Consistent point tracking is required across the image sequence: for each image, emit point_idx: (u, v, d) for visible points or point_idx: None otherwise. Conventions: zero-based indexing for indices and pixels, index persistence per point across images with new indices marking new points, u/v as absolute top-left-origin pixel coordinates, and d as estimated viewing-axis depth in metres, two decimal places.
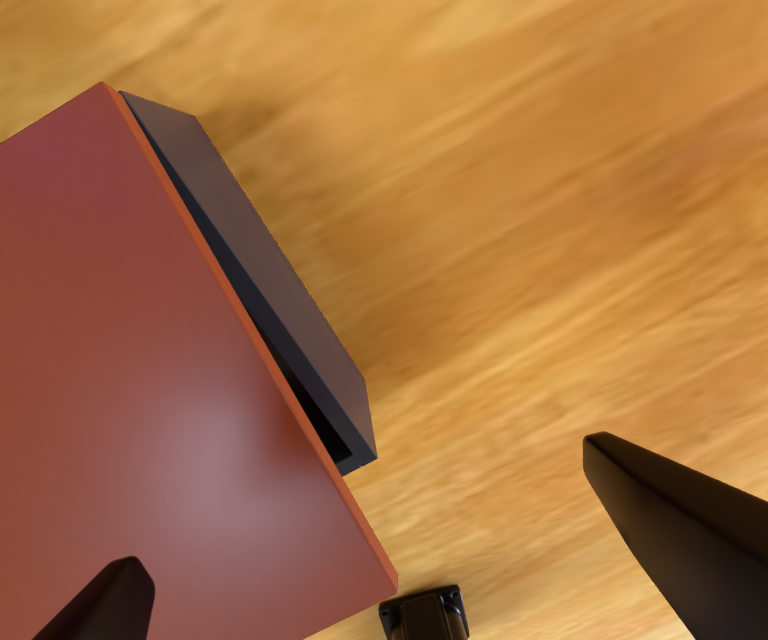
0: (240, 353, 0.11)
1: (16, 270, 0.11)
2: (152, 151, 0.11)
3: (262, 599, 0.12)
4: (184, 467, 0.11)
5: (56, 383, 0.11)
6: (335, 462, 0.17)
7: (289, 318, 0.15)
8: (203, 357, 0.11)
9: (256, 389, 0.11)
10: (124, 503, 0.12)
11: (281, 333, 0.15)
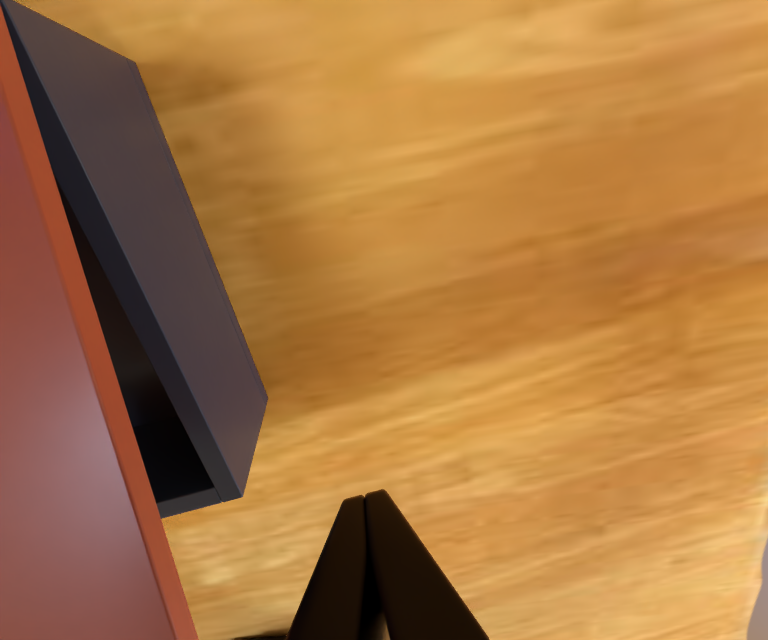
0: (62, 352, 0.09)
1: None
2: (20, 78, 0.09)
3: None
4: None
5: None
6: (192, 491, 0.15)
7: (174, 318, 0.13)
8: (12, 347, 0.09)
9: (72, 402, 0.09)
10: None
11: (154, 334, 0.12)
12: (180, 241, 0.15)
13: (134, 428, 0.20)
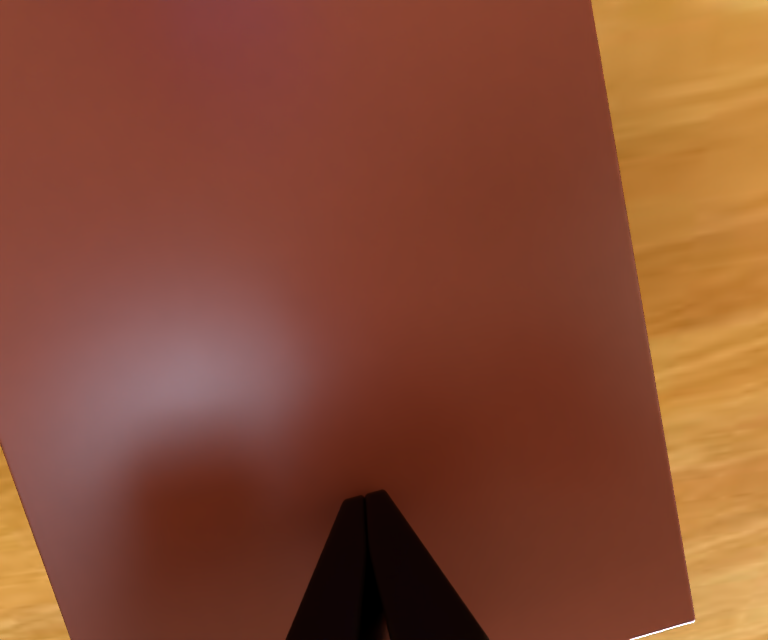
0: (610, 248, 0.08)
1: (334, 29, 0.07)
2: None
3: (521, 597, 0.08)
4: (479, 389, 0.08)
5: (335, 218, 0.07)
6: None
7: None
8: (559, 240, 0.08)
9: (613, 305, 0.08)
10: (375, 421, 0.08)
11: None
12: None
13: None
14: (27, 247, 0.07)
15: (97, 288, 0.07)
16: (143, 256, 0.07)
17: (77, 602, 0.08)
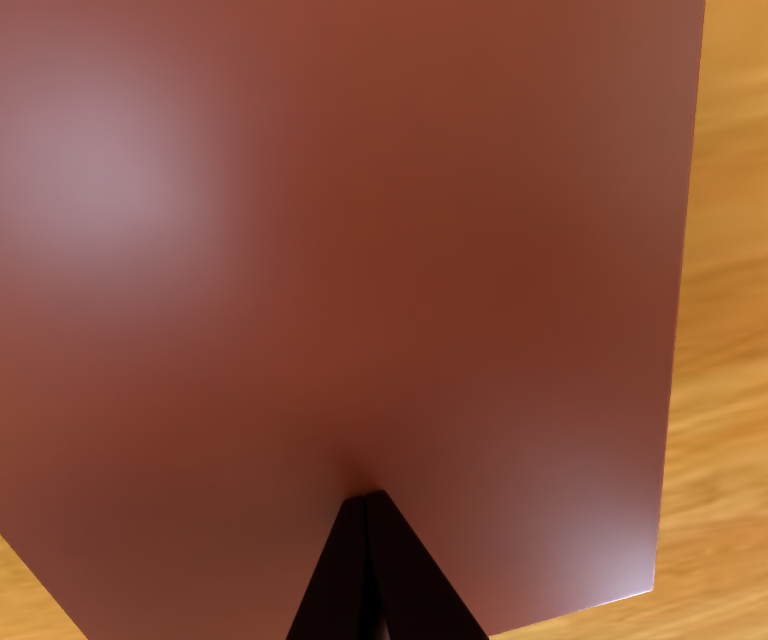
0: (656, 287, 0.07)
1: None
2: None
3: (510, 586, 0.09)
4: (494, 429, 0.08)
5: (345, 258, 0.06)
6: None
7: None
8: (603, 279, 0.07)
9: (645, 345, 0.07)
10: (386, 462, 0.07)
11: None
12: None
13: None
14: None
15: (51, 344, 0.06)
16: (104, 306, 0.06)
17: (94, 620, 0.08)
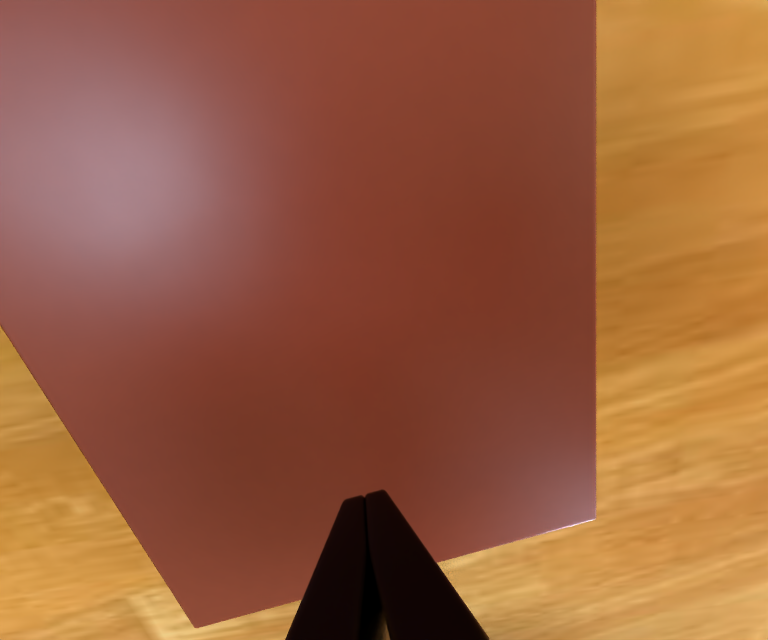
0: (577, 265, 0.09)
1: (341, 54, 0.07)
2: None
3: (476, 511, 0.12)
4: (458, 376, 0.10)
5: (342, 241, 0.08)
6: None
7: None
8: (536, 258, 0.09)
9: (572, 310, 0.10)
10: (374, 401, 0.10)
11: None
12: None
13: None
14: (59, 268, 0.08)
15: (130, 303, 0.08)
16: (169, 275, 0.08)
17: (146, 528, 0.10)
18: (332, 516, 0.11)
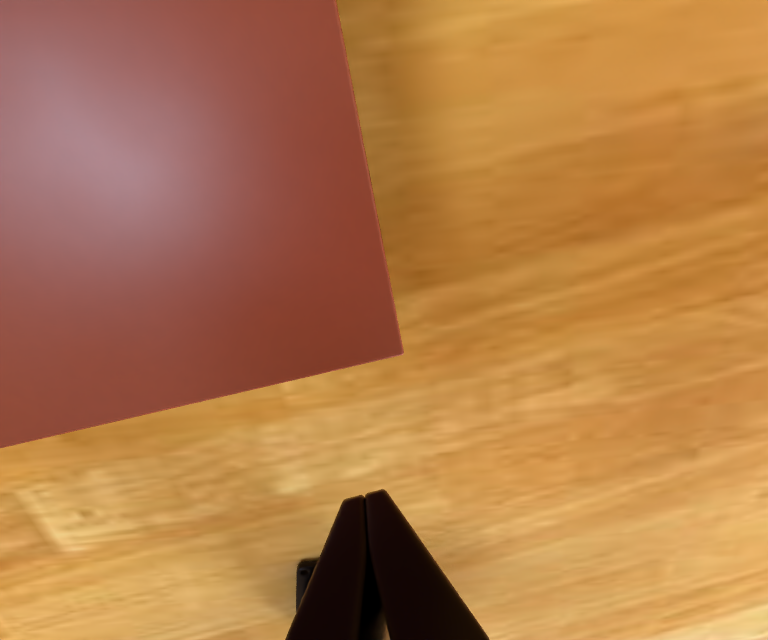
0: (324, 45, 0.09)
1: None
2: None
3: (273, 332, 0.12)
4: (221, 168, 0.10)
5: None
6: None
7: None
8: (277, 34, 0.09)
9: (329, 100, 0.10)
10: (137, 191, 0.10)
11: None
12: None
13: None
14: None
15: None
16: None
17: None
18: (119, 325, 0.11)
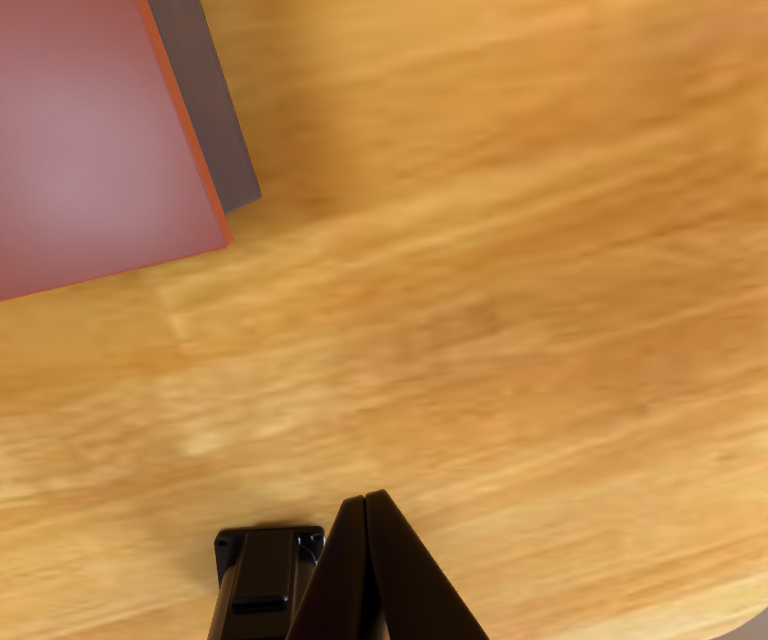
0: None
1: None
2: None
3: (62, 216, 0.10)
4: None
5: None
6: None
7: None
8: None
9: None
10: None
11: None
12: None
13: None
14: None
15: None
16: None
17: None
18: None
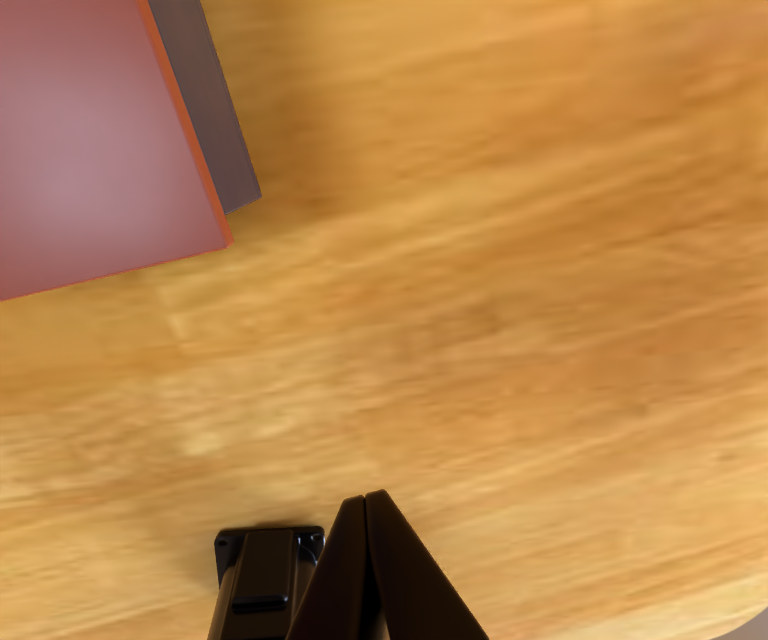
0: None
1: None
2: None
3: (62, 216, 0.10)
4: None
5: None
6: None
7: None
8: None
9: None
10: None
11: None
12: None
13: None
14: None
15: None
16: None
17: None
18: None
